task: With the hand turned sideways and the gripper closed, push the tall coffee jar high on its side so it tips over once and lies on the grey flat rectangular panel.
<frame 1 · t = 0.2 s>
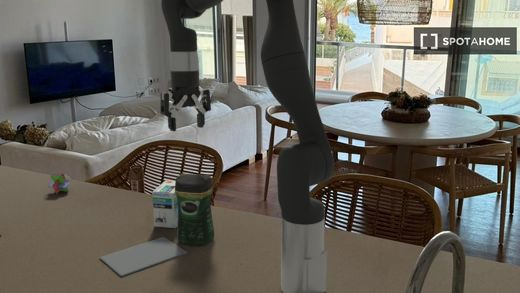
hand: (187, 129, 138), 29 cm above the kitchen counter, tool pointing down, fingers open, 8 cm apart
grey flat rectangular panel: (143, 256, 128), on the kitchen counter
coffee jar: (196, 241, 136), on the kitchen counter
light bulb box: (171, 221, 149), on the kitchen counter
geometric puzzle: (60, 193, 173), on the kitchen counter
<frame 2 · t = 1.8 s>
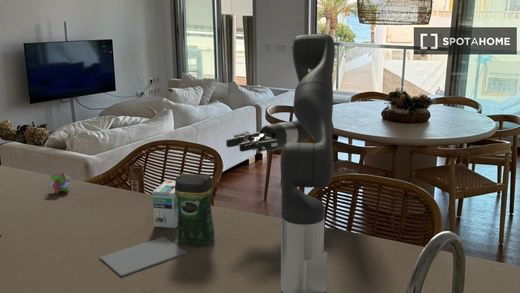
hand: (233, 145, 139), 24 cm above the kitchen counter, tool horizontal, fingers open, 5 cm apart
nothing on the kitchen counter moved.
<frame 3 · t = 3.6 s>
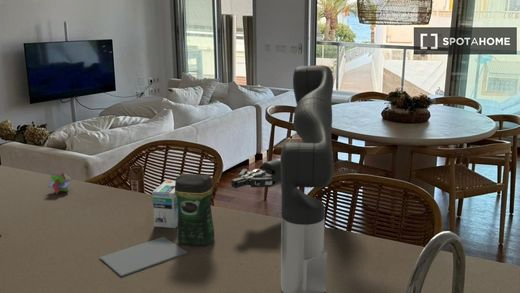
hand: (233, 184, 141), 13 cm above the kitchen counter, tool horizontal, fingers closed
nothing on the kitchen counter moved.
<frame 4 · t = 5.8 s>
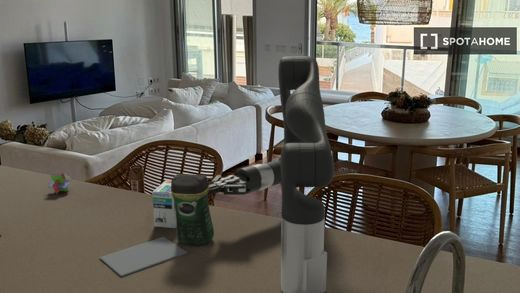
hand: (204, 191, 135), 13 cm above the kitchen counter, tool horizontal, fingers closed
coffee jar: (196, 239, 136), on the kitchen counter, touching gripper
everything else where it was.
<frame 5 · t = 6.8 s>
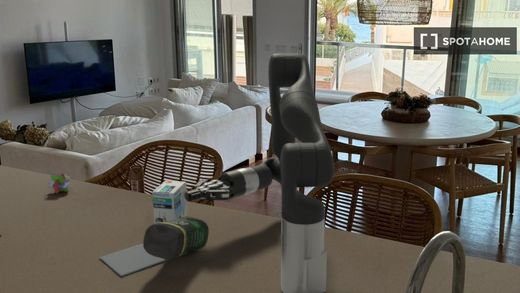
hand: (186, 196, 131), 13 cm above the kitchen counter, tool horizontal, fingers closed
coffee jar: (193, 231, 133), point 4 cm above the kitchen counter
everything else where it was.
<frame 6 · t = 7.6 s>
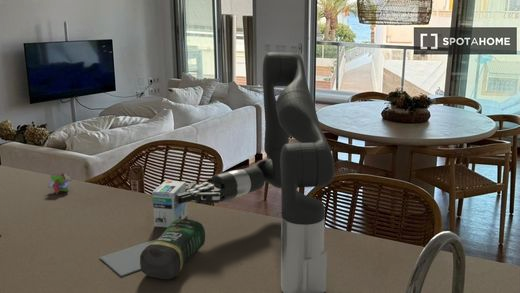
hand: (176, 199, 130), 13 cm above the kitchen counter, tool horizontal, fingers closed
coffee jar: (189, 231, 131), point 5 cm above the kitchen counter, touching grey flat rectangular panel
everything else where it was.
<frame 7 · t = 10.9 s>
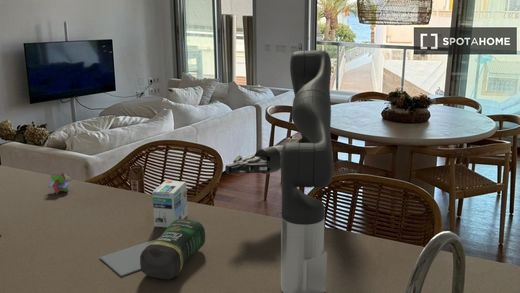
hand: (227, 169, 138), 18 cm above the kitchen counter, tool horizontal, fingers closed
nothing on the kitchen counter moved.
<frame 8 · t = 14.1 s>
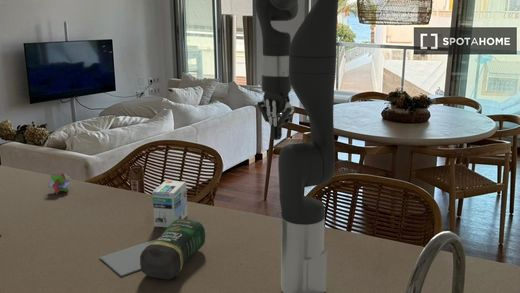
hand: (276, 139, 133), 27 cm above the kitchen counter, tool pointing down, fingers closed
nothing on the kitchen counter moved.
at the end: coffee jar tilted 92°; coffee jar touching grey flat rectangular panel, kitchen counter; coffee jar inside the target area (3.5 cm from its centre), point 4.5 cm above the kitchen counter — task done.
